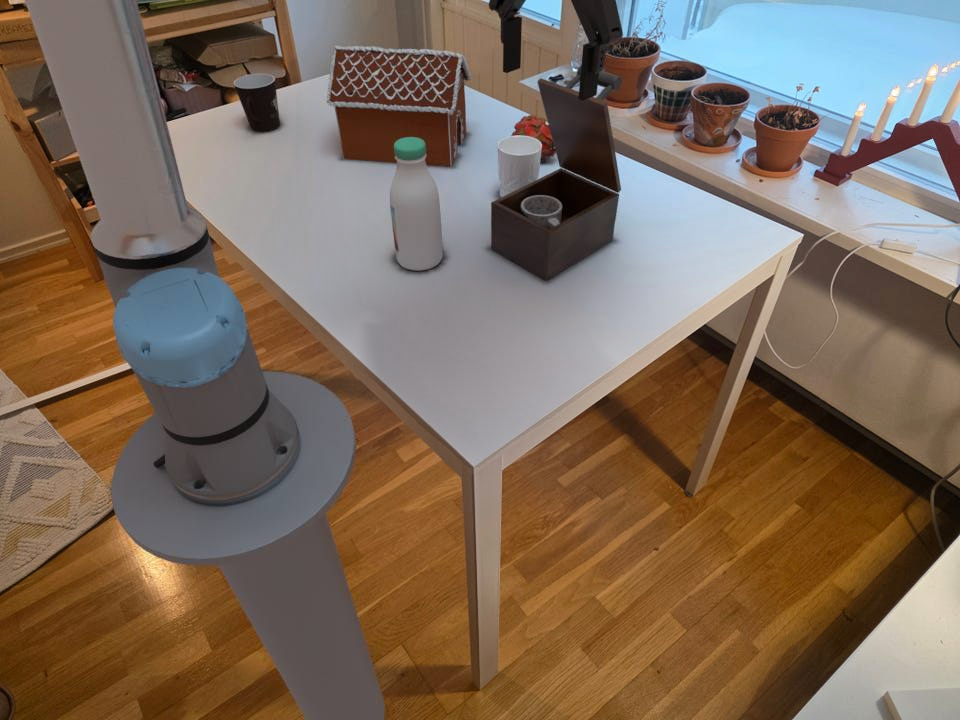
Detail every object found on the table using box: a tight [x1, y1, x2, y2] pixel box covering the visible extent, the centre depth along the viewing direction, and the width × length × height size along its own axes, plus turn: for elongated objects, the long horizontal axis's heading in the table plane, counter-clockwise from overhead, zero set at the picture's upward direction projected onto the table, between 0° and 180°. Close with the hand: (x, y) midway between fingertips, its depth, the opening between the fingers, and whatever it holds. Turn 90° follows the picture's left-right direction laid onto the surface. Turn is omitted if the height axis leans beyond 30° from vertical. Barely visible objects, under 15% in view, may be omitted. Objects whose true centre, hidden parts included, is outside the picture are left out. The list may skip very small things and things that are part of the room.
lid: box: [536, 65, 623, 194], centre depth 101 cm, size 17×13×7 cm
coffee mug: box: [233, 73, 281, 133], centre depth 141 cm, size 12×9×10 cm
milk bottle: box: [389, 137, 444, 271], centre depth 100 cm, size 8×8×20 cm
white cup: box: [496, 135, 542, 198], centre depth 118 cm, size 8×8×10 cm
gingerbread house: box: [325, 44, 472, 168], centre depth 131 cm, size 18×26×20 cm
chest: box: [490, 167, 620, 282], centre depth 106 cm, size 17×13×9 cm
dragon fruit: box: [510, 113, 556, 163], centre depth 131 cm, size 8×8×12 cm
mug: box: [521, 195, 562, 229], centre depth 106 cm, size 10×7×7 cm
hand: (547, 83), depth 86 cm, fingers open, 13 cm apart
